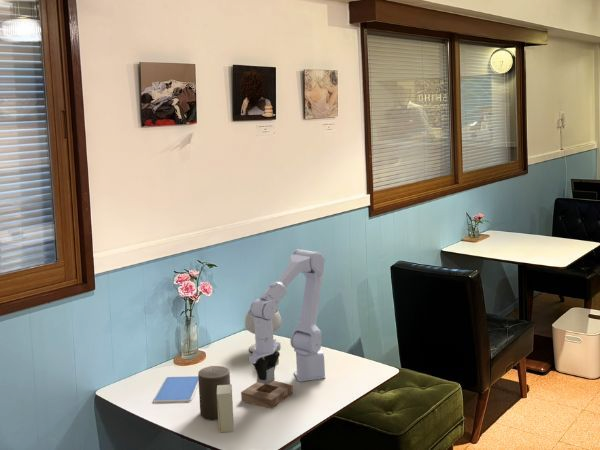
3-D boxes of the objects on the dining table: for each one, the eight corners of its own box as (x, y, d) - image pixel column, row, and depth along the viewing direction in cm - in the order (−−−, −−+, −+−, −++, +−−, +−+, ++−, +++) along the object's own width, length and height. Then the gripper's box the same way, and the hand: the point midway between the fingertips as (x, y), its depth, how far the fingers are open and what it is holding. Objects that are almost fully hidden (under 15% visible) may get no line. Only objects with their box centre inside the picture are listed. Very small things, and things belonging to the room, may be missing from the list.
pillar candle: (205, 423, 197) (202, 376, 194) (196, 410, 206) (194, 364, 203) (236, 416, 201) (234, 370, 198) (226, 403, 210) (224, 359, 207)
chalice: (290, 347, 255) (288, 310, 252) (264, 358, 245) (261, 320, 242) (265, 339, 264) (263, 303, 261) (239, 350, 254) (236, 313, 251)
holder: (263, 386, 221) (262, 378, 220) (293, 393, 214) (292, 385, 214) (241, 400, 211) (241, 392, 210) (272, 408, 205) (271, 399, 204)
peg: (264, 377, 215) (263, 364, 214) (274, 379, 212) (273, 366, 212) (257, 382, 211) (256, 368, 210) (267, 384, 209) (266, 371, 208)
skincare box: (219, 422, 197) (216, 384, 195) (234, 421, 198) (231, 383, 195) (218, 433, 191) (215, 394, 189) (234, 431, 191) (231, 392, 189)
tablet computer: (166, 379, 231) (166, 376, 231) (202, 378, 231) (201, 375, 231) (152, 404, 212) (152, 401, 212) (191, 403, 212) (190, 400, 212)
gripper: (267, 327, 217) (269, 366, 220) (240, 342, 205) (242, 382, 208) (284, 330, 213) (286, 370, 216) (258, 345, 201) (260, 387, 204)
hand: (266, 376), depth 211 cm, fingers closed on peg, 4 cm apart
